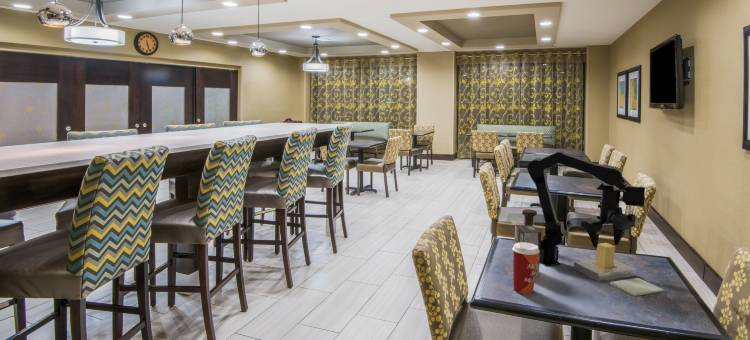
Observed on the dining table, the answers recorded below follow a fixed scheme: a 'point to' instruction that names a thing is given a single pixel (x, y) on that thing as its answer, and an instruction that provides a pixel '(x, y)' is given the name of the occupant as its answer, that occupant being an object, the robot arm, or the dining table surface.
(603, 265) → the peg
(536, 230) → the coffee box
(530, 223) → the bolt
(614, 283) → the pad
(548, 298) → the dining table surface
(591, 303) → the dining table surface
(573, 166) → the robot arm
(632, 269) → the square hole plate
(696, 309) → the dining table surface
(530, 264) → the coffee cup
